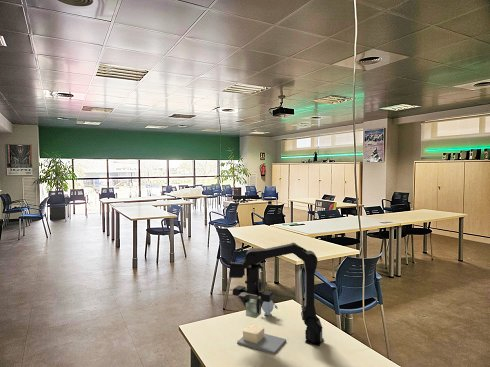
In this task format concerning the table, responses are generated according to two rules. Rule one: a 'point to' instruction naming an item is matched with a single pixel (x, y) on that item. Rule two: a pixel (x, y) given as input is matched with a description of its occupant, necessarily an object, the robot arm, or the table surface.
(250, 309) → the sage block
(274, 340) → the build plate
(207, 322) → the table surface
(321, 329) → the robot arm
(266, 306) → the toy figure
